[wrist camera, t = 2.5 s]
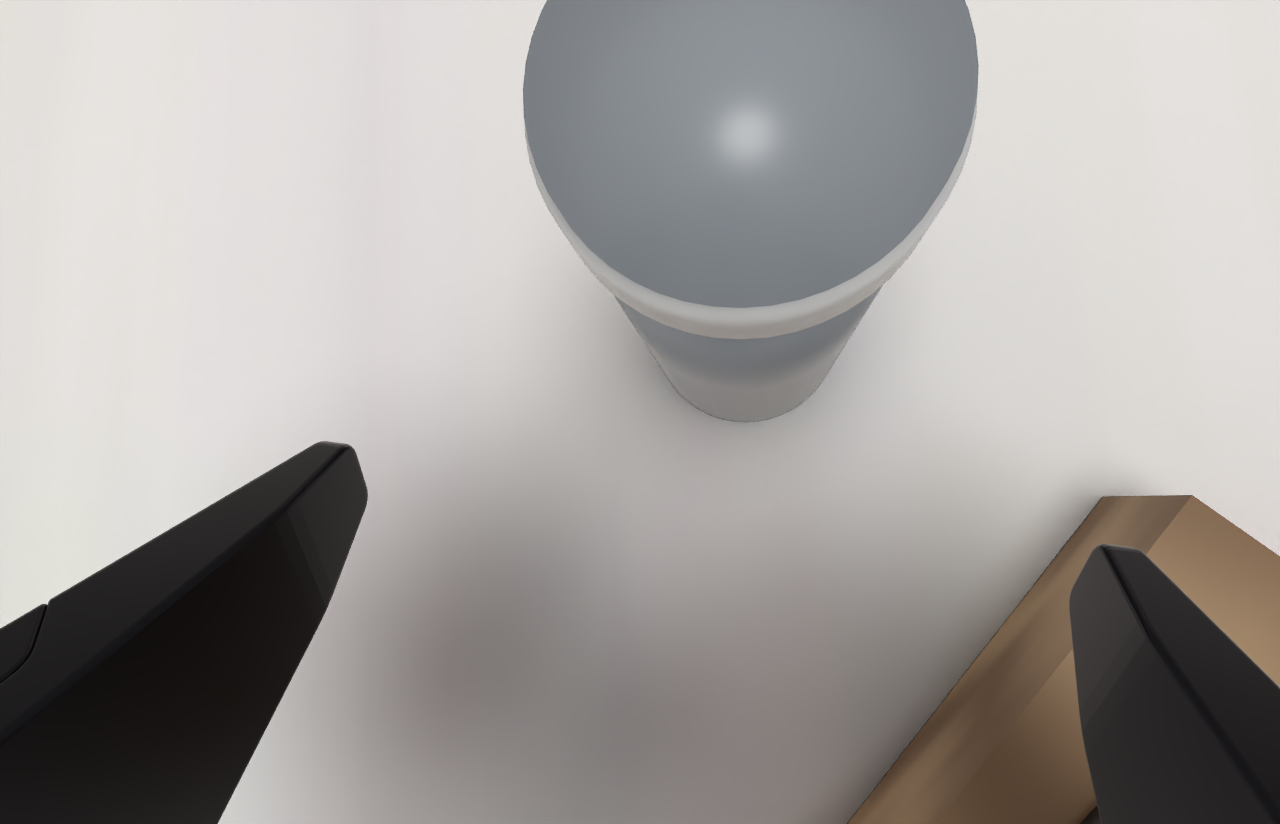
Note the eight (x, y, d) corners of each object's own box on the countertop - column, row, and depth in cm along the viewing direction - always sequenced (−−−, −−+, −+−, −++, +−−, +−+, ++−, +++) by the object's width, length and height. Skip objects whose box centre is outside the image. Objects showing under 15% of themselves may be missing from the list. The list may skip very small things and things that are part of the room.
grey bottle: (762, 464, 21) (786, 405, 8) (615, 350, 22) (425, 134, 9) (880, 314, 21) (1091, 16, 8) (728, 206, 22) (701, -217, 9)
